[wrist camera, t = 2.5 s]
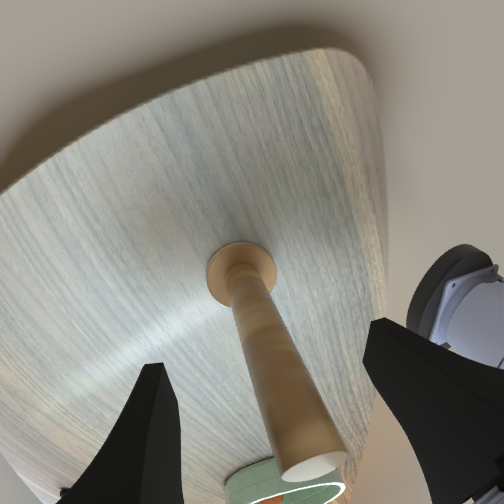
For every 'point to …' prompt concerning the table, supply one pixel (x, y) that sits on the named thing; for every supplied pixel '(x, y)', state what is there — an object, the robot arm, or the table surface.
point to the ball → (273, 500)
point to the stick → (275, 365)
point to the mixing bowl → (280, 486)
